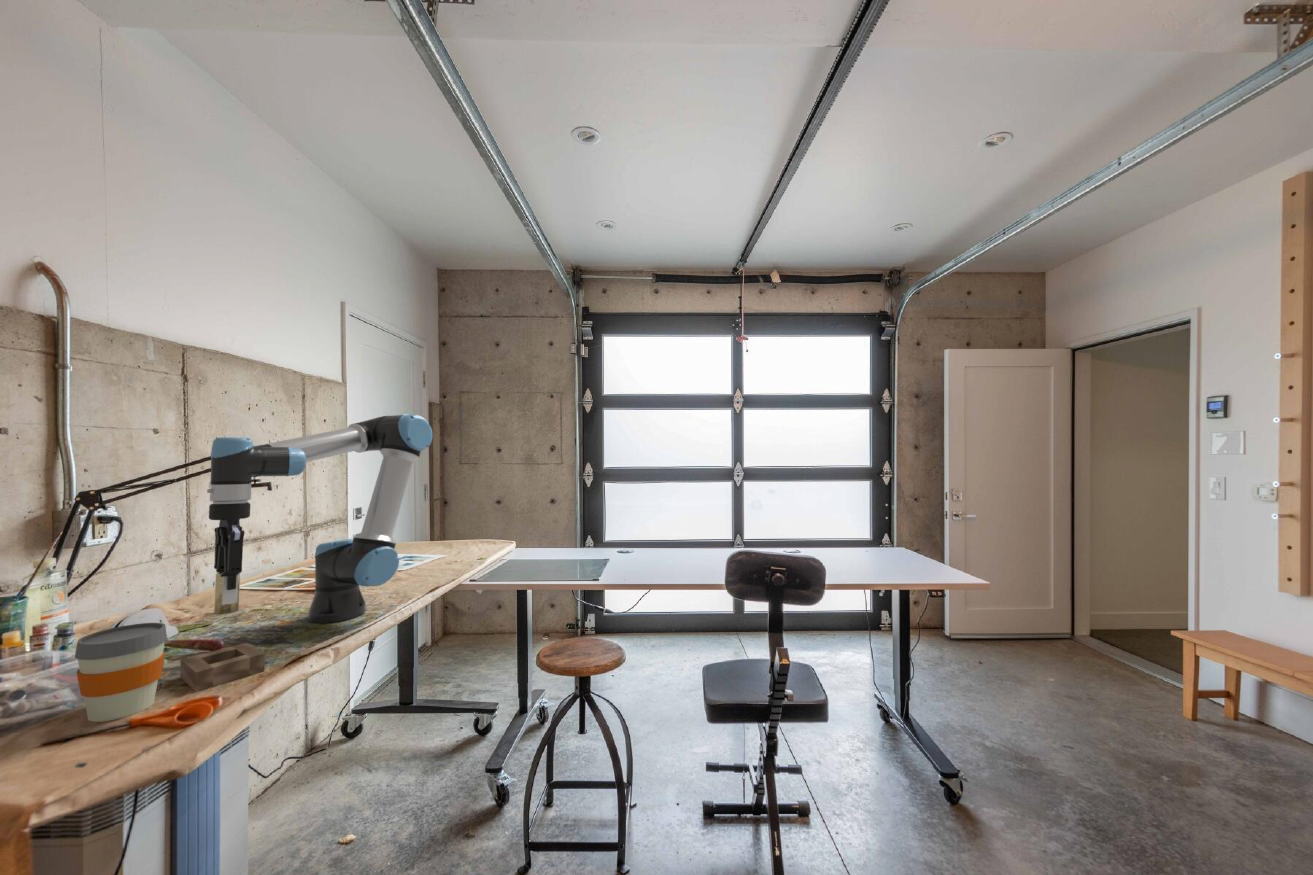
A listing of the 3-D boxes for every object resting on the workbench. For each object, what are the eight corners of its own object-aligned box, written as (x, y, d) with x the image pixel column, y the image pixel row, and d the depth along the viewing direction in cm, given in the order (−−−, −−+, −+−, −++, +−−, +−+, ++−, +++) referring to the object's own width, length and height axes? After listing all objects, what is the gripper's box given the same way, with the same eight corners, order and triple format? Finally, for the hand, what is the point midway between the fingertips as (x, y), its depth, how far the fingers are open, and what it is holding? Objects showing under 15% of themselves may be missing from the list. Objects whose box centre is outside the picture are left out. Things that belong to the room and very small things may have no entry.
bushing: (235, 607, 122) (237, 570, 123) (241, 611, 120) (242, 572, 120) (211, 612, 119) (213, 573, 119) (217, 615, 116) (218, 575, 117)
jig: (246, 659, 124) (246, 642, 124) (264, 670, 117) (264, 653, 117) (180, 677, 114) (180, 659, 114) (195, 691, 107) (196, 672, 107)
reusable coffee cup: (161, 688, 108) (162, 618, 109) (171, 706, 100) (172, 630, 101) (72, 712, 99) (73, 635, 99) (74, 734, 91) (76, 650, 91)
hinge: (138, 654, 128) (122, 618, 127) (116, 663, 126) (99, 626, 125) (179, 632, 144) (165, 599, 143) (160, 639, 142) (145, 607, 142)
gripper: (200, 501, 123) (196, 599, 121) (220, 504, 112) (215, 611, 111) (239, 499, 129) (235, 592, 127) (261, 502, 118) (257, 604, 117)
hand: (226, 601), depth 119 cm, fingers closed on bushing, 4 cm apart
